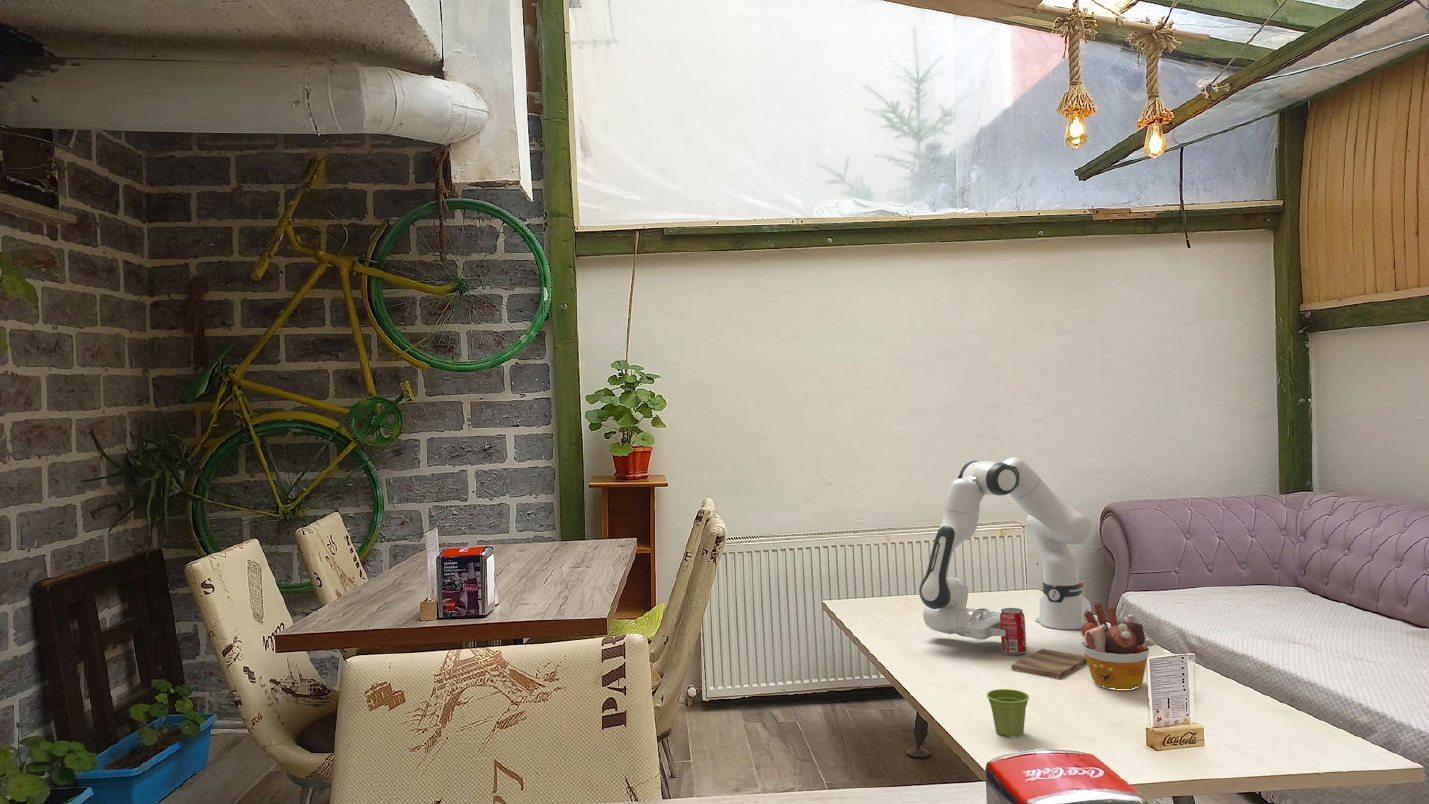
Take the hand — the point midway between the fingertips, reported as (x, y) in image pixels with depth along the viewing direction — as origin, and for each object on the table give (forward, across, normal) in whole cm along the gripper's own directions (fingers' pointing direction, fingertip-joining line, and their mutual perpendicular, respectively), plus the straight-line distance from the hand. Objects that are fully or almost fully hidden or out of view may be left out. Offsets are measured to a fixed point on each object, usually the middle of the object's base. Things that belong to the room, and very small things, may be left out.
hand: (1013, 629), depth 262 cm
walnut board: (+14, -6, +7) cm, 17 cm away
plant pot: (+28, -60, +7) cm, 67 cm away
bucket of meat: (+34, -11, +7) cm, 36 cm away
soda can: (0, 0, +7) cm, 7 cm away
